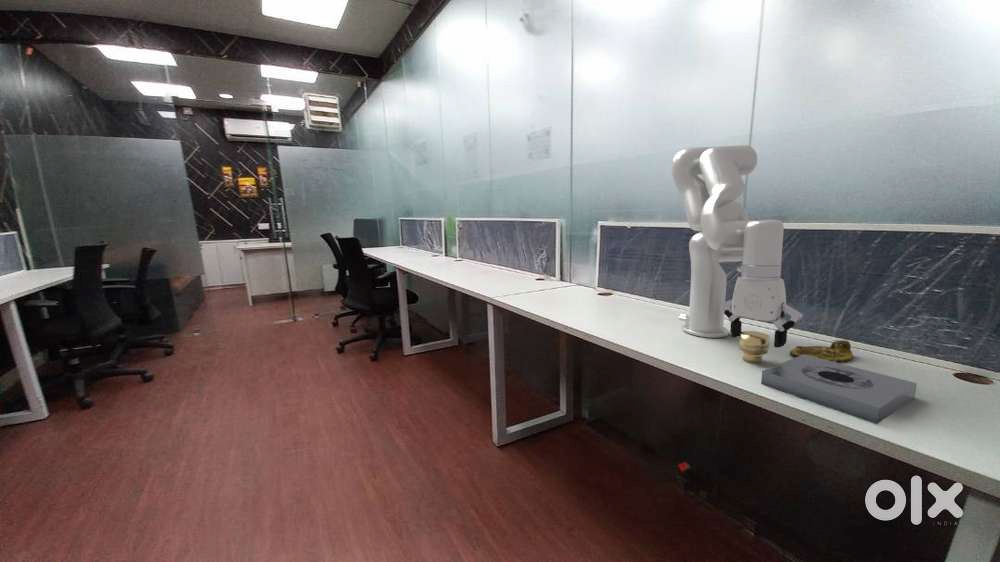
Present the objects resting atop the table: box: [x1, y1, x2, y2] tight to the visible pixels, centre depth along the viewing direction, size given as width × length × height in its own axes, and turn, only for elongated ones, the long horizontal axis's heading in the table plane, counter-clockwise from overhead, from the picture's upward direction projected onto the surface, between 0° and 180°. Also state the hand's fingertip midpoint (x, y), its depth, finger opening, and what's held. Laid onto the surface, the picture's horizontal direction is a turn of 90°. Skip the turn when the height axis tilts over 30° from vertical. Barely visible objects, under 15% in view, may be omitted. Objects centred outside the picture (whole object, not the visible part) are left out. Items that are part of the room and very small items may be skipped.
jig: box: [760, 354, 918, 425], centre depth 73 cm, size 18×18×3 cm
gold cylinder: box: [738, 330, 771, 365], centre depth 89 cm, size 6×6×7 cm
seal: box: [789, 339, 854, 364], centre depth 90 cm, size 9×5×15 cm
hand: (756, 341), depth 87 cm, fingers open, 9 cm apart
